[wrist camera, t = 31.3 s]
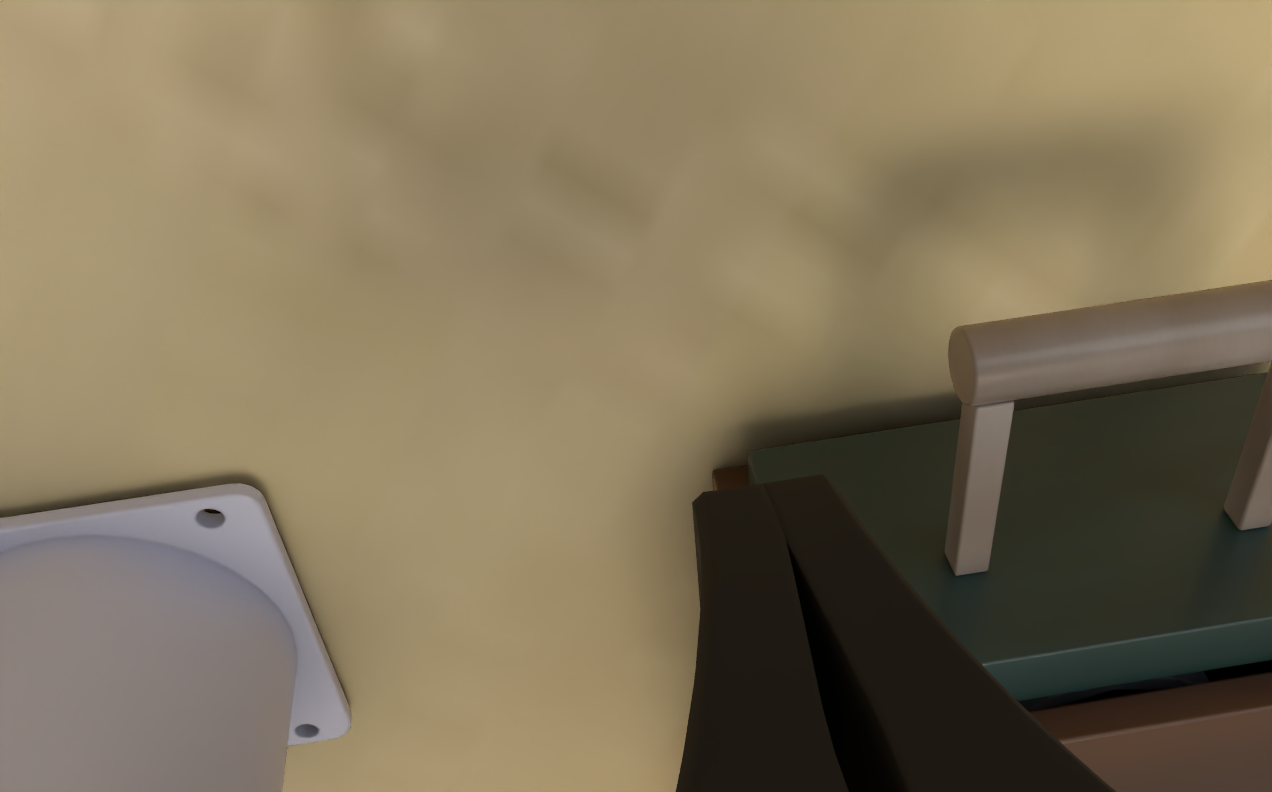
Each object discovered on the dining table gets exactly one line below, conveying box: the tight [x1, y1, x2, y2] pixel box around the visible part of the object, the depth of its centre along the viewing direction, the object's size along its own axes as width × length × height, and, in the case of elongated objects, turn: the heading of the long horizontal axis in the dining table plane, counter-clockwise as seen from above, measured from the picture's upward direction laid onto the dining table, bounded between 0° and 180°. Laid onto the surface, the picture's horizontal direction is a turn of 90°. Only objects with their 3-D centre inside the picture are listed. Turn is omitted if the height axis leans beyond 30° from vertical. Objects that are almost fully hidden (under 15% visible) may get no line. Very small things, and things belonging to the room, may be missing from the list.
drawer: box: [748, 280, 1272, 701], centre depth 24 cm, size 18×11×6 cm, turn 5°
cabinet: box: [712, 466, 1272, 792], centre depth 26 cm, size 14×12×7 cm
